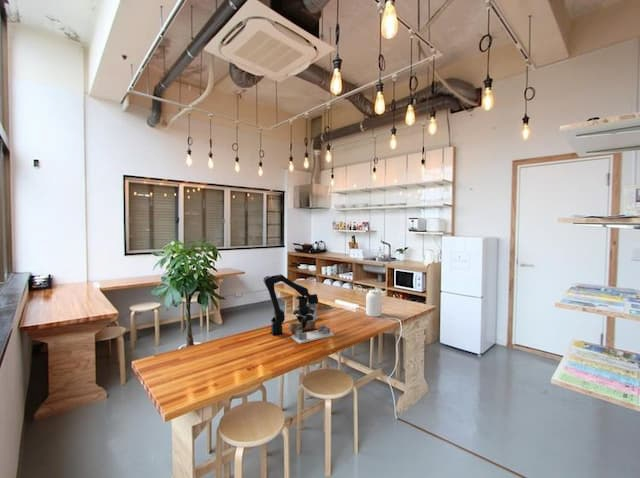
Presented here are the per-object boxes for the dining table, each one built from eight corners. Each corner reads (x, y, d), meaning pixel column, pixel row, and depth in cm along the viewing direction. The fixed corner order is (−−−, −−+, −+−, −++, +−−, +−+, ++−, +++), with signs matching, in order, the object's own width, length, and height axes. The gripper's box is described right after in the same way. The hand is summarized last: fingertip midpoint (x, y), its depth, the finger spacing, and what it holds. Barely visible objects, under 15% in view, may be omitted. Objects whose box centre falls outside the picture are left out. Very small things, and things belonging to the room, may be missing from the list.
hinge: (302, 323, 223) (299, 309, 225) (298, 324, 227) (295, 310, 229) (318, 318, 235) (315, 305, 237) (314, 319, 238) (312, 306, 240)
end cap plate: (299, 343, 186) (299, 336, 186) (290, 337, 196) (290, 330, 196) (334, 335, 200) (334, 328, 200) (324, 329, 210) (324, 323, 210)
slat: (291, 331, 204) (291, 324, 203) (289, 330, 206) (290, 323, 206) (315, 327, 212) (315, 320, 212) (313, 326, 215) (313, 319, 214)
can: (363, 313, 249) (363, 289, 248) (375, 311, 255) (376, 288, 254) (371, 317, 238) (372, 292, 237) (384, 315, 243) (385, 291, 242)
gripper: (320, 306, 205) (319, 329, 206) (306, 300, 220) (306, 321, 221) (305, 308, 199) (305, 332, 200) (292, 302, 214) (292, 324, 215)
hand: (302, 327), depth 209 cm, fingers closed on slat, 3 cm apart
